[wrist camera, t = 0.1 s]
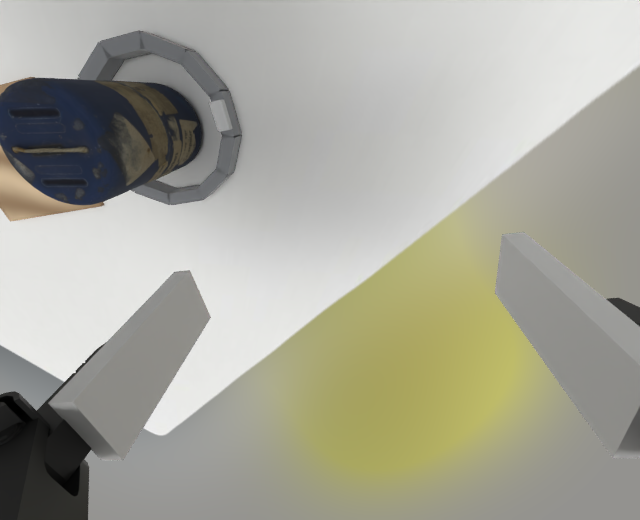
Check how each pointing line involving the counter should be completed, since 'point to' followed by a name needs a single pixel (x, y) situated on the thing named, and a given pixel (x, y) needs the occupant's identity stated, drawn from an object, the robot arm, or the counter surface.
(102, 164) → the canister
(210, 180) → the collar
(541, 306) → the robot arm
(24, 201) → the mat
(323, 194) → the counter surface
